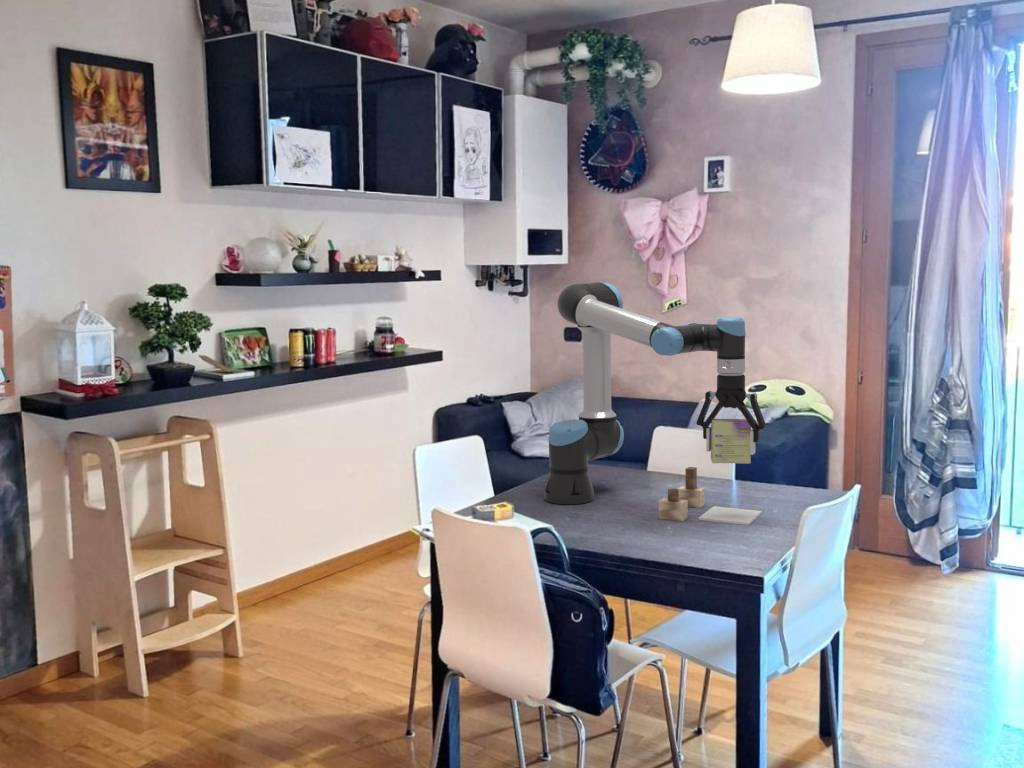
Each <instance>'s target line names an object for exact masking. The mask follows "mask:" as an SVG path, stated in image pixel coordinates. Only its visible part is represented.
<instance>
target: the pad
mask: <svg viewBox="0 0 1024 768" xmlns="http://www.w3.org/2000/svg"><path fill="white" fill-rule="evenodd" d="M762 514H763V511H762V510H755V509H754V510H753V509H745V508H736V507H735V508H733V507H726V506H715V505H714V506H712V507H711V508H709V509H708V510H707V511H705V513H703V514H701V515H700V516H699V517H698V521H704V522H714V523H724V524H730V525H731V524H733V525H742V526H750V525H751V524H753V523H754V521H755V520H756V519H758V518H759V517H760V516H761V515H762Z"/></svg>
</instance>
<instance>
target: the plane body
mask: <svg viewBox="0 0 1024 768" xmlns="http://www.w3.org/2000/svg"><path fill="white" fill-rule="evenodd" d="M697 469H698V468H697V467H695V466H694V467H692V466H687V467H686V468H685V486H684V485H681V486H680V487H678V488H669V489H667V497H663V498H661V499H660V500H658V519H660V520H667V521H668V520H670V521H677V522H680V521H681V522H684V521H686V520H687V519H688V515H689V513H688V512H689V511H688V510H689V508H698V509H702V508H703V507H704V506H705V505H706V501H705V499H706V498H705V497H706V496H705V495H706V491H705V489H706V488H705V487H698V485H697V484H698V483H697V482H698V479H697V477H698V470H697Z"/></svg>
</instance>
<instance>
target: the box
mask: <svg viewBox="0 0 1024 768" xmlns="http://www.w3.org/2000/svg"><path fill="white" fill-rule="evenodd" d="M710 427H711V451H710V461H711V463H712V464H749V465H750V464H751V463H752V461H751V460H752V455H750V431H751V430H752V427H751V426H750V424H749V423H748V421H747V420H746V418H714V419H712V421H711V424H710Z"/></svg>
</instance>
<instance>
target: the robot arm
mask: <svg viewBox="0 0 1024 768" xmlns="http://www.w3.org/2000/svg"><path fill="white" fill-rule="evenodd" d="M623 301H624V300H623V297H622V295H621V292H620V291H619V290H618V289H617V288H616V286H614V285H613V284H611V283H609V282H600V281H598V282H589V283H573V284H570V285H568V286H566V287H565V288H563V289H562V291H561V292H560V294H559V295H558V298H557V310H558V313H559V314H560V316H561V317H562V318H563V319H564V320H565V321H567V322H569V323H571V324H574V325H577V329H578V330H579V331H580V332H581V333H582V377H583V378H582V383H583V384H582V386H583V387H582V390H583V392H582V393H583V399H582V400H583V410H582V411H581V412H580V413H579V414H578V419H576V418H575V419H568V420H566V419H565V420H561V421H557V422H555V423H553V424H552V425H551V426H550V427H549V430H548V431H549V432H548V438H547V440H548V461H549V463H548V465H549V466H548V467H549V475H548V478H547V482H546V484H545V488H544V491H543V492H544V493H543V498H544V501H545V502H548V503H551V504H556V505H579V504H586V503H590V502H593V500H594V499H595V490H594V488H593V484H592V481H591V478H590V474H589V461H593V460H597V459H600V458H603V459H604V458H607V457H609V456H611V455H614V454H616V453H617V452H618V451H619V450H620V449H621V447H622V445H623V444H624V440H625V438H624V437H625V432H624V428H623V425H621V422H620V421H619V420H617V414H616V413H615V412H614V410H613V409H612V362H611V361H612V356H611V355H612V353H611V352H612V348H611V346H612V345H611V343H612V341H611V337H612V336H611V334H613V335H616V336H619V337H622V338H624V339H627V340H630V341H633V342H636V343H638V344H641V345H643V346H647V347H650V348H652V349H653V351H654V352H655V353H656V354H658V355H660V356H670V357H671V356H675V355H680V354H681V355H682V354H686V353H688V354H689V353H695V352H716V372H717V373H718V374H717V376H716V391H715V392H714V391H711V390H709V391H706V392H705V397H704V398H705V400H704V402H703V405H702V406H701V409H700V412H699V415H698V417H697V419H696V424H695V425H697V426H700V427H702V438H703V439H704V440H706V448H705V449H706V452H711V421H712V419H716V417H717V415H718V414H719V413H720V411H721V410H722V409H723V408H725V409H729V408H730V409H738V410H739V411H740V413H741V414H742V415H743V417H744V419H746V420H747V421H748V423H749V424H750V426H751V431H750V455H751V456H753V455H755V454H756V443H758V442H759V440H760V430H763V429H765V428H766V427H767V423H766V421H765V419H764V416H763V413H762V411H761V408H760V405H759V403H758V394H757V393H756V392H753V393H747V392H746V375H745V374H744V373H745V372H746V335H747V334H746V323H745V320H744V318H743V317H735V316H733V317H729V316H727V317H726V316H725V317H719V318H717V320H716V324H712V323H711V324H710V323H696V322H692V323H684V324H682V325H676V326H675V325H673V324H669V323H666V322H662V321H660V320H658V319H654V318H652V317H648V316H644V315H643V314H640V313H636V312H633V311H631V310H627V309H625V308H624V309H623V306H624V302H623ZM714 398H716V399H717V401H718V402H717V404H716V405H715V407H714V409H713V410H712V411H711V413H710V414H709V415H708V417H707V413H708V411H709V408H710V406H711V404H712V401H713V399H714ZM745 399H747V401H748V402H750V406H751V408H752V411H753V414H754V416H753V415H752V413H751V412H750V410H749V409H748V408H747V405H746V404H745V403H744V401H745ZM706 417H707V419H706ZM754 417H755V418H754ZM705 419H706V420H705ZM755 419H756V420H755Z"/></svg>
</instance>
